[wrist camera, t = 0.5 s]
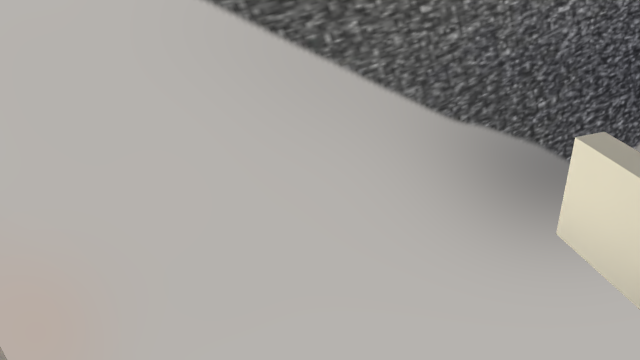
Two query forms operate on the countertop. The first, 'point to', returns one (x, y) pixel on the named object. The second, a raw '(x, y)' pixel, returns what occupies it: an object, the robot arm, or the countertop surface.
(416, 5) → the countertop surface
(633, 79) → the countertop surface
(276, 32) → the countertop surface
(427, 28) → the countertop surface
